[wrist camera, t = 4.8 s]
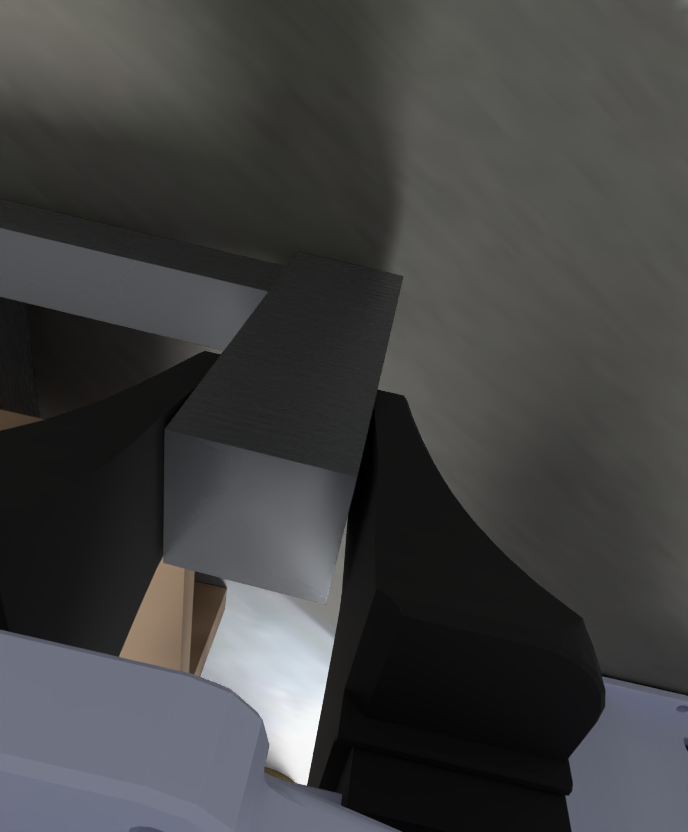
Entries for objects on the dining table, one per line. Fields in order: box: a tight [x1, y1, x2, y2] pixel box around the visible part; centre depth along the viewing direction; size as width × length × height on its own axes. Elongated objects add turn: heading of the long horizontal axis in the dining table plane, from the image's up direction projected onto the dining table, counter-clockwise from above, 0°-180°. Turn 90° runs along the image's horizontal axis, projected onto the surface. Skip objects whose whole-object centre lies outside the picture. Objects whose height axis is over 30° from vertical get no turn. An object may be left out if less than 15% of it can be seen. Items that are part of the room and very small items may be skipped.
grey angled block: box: [0, 199, 403, 604], centre depth 15 cm, size 14×8×9 cm, turn 80°
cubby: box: [0, 410, 227, 677], centre depth 21 cm, size 9×13×6 cm
